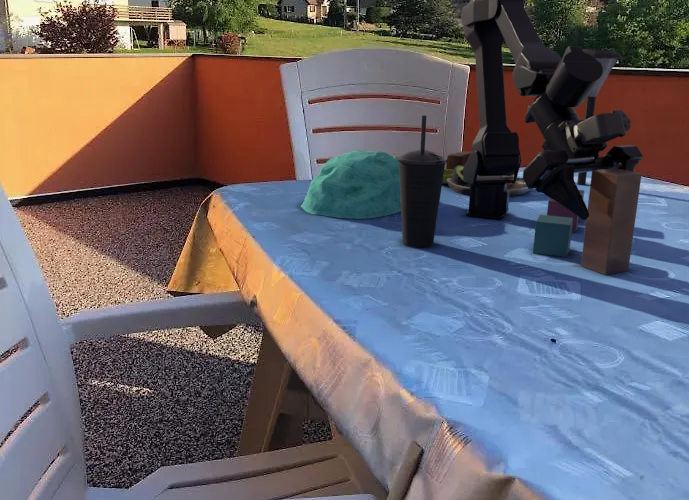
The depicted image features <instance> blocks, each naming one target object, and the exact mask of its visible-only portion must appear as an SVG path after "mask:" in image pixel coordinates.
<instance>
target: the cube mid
mask: <svg viewBox="0 0 689 500" xmlns="http://www.w3.org/2000/svg"><path fill="white" fill-rule="evenodd" d="M546 212H547V213H546V215H549V216H559V217H568V218H573V224H572V233H576V232H577V229H578V226H579V222H578V221H579V217H578V216H577V215H576V214H574V213H573V212H571V211H570V210H568V209H567V208H565V207H564V206H562V205H561V204H559V203H558V202H556V201H555V200H553V199H551V198H550V197H549V199H548V201H547V211H546Z"/></svg>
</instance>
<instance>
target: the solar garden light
mask: <svg viewBox="0 0 689 500" xmlns="http://www.w3.org/2000/svg"><path fill="white" fill-rule="evenodd" d="M582 50H583V52H585V53H588V54H590V55H591V56H593V57H594V58H595V59H596V60H597V61H598V62H600V63H601V65H602V67H603V74H602V76H601V77H600V79H599V80H598V82H597V83H596V85H595V86H594V87H593V89H592V90H591V92H590V93H589V95H588V96H587V97H586V102H585V110H584V111H585V112H584V119H583V120H587V119H589V118H591V117H593V116H595V109H596V107H595V106H596V100H597V99H596V98H597V95H598V94H599V93H600V90H601V88H602V87H603V85H604V83H605V82H606V80H607V78H608V76H609V75H610V73H611V71H612V70H613V68H614V66H615V65H616V63H617V62H618V60H626V58H625V57H624V56H622V55H621V54H620V53H618V52H616V51H614V50H613V49H592V48H590V49H589V48H586V49H585V48H582ZM587 176H588V172H581V173H577V181H576V185H580V186H584V185H586V183H587Z"/></svg>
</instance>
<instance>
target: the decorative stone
mask: <svg viewBox="0 0 689 500" xmlns="http://www.w3.org/2000/svg"><path fill="white" fill-rule="evenodd" d="M397 157H398V156H392V155H390V154H389V153H388V152H384V151H381V150H361V149H357V150H352V151H348V152H345V153H342V154H339V155H336V156H334V157H332V158H329V159H328V160H327V161H326V162H325V163H324V164H322V166H321V168H320V170H319V172H318V174H317V175H316V176H315V177H313V178H312V180H311V182H310V184H309V187H308V190H307V193H306V195H305V197H304V199H303V203H302V204H301V205H300V208H302V210H303V211H304V212H306V213H308V214H311V215H315V216H325V217H331V218H332V217H333V218H338V219H352V220H353V219H354V220H355V219H356V220H357V219H358V220H364V219H365V220H366V219H367V220H368V219H376V218H381V217H386V216H390V215H393V214H398V213H401V197H400V176H399V162H398V161H397Z"/></svg>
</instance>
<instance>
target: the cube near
mask: <svg viewBox="0 0 689 500" xmlns="http://www.w3.org/2000/svg"><path fill="white" fill-rule="evenodd" d="M572 224H573V218H568V217H559V216H549V215H547V214H539V216H538V217H537V219H536V221H535V228H534V236H533V237H534V238H533V247H532V249H533V250H532V253H533V254H537V255H546V256H553V257H554V256H555V257H562V258H567V257H568V255H569V252H570V249H571V240H572V234H573V232H572Z"/></svg>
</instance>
